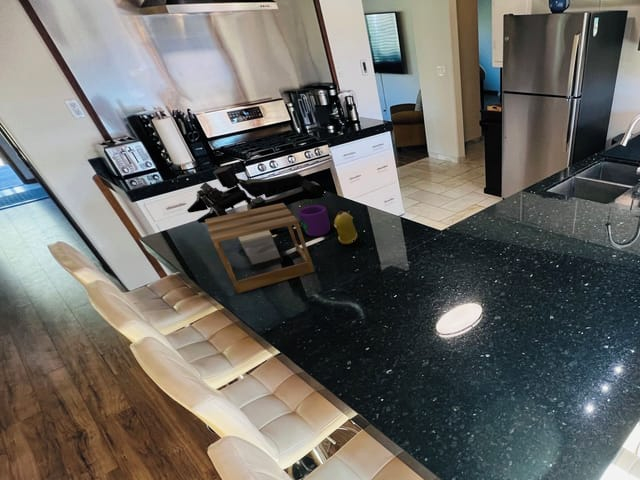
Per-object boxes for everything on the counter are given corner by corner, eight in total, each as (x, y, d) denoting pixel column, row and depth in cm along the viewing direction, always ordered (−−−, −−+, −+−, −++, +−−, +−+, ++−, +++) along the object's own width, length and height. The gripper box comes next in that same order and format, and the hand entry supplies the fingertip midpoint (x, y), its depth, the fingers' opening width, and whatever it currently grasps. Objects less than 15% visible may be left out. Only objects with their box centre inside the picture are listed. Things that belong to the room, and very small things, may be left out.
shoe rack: (228, 268, 152) (204, 218, 139) (299, 250, 162) (282, 202, 150) (237, 293, 137) (212, 240, 125) (314, 271, 148) (297, 220, 135)
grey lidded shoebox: (274, 247, 165) (267, 228, 160) (284, 261, 155) (276, 241, 149) (245, 254, 160) (237, 235, 155) (253, 270, 150) (244, 249, 145)
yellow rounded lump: (360, 247, 163) (351, 210, 153) (340, 250, 161) (330, 213, 151) (357, 236, 171) (349, 200, 161) (338, 239, 169) (328, 203, 159)
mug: (336, 232, 175) (330, 209, 168) (312, 240, 169) (305, 217, 162) (318, 221, 184) (311, 199, 178) (294, 229, 178) (287, 206, 172)
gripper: (208, 170, 158) (169, 187, 152) (229, 189, 150) (189, 208, 144) (224, 195, 167) (187, 213, 161) (245, 214, 160) (207, 233, 154)
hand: (192, 216), depth 155 cm, fingers open, 9 cm apart
